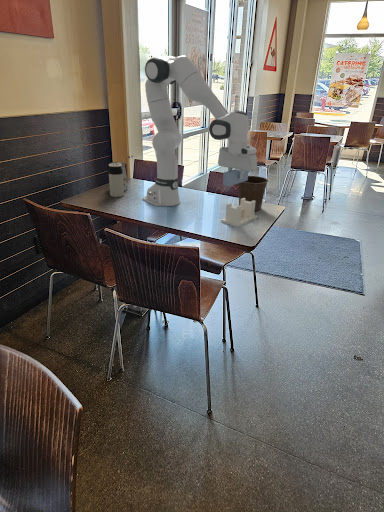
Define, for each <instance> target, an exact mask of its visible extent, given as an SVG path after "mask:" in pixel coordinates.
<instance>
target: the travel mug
mask: <svg viewBox="0 0 384 512" xmlns="http://www.w3.org/2000/svg"><path fill="white" fill-rule="evenodd" d="M121 166H122V164H118V163H113V164H111V163H109V164H108V167H109V168H108V170H107V171H108V180H109V181H108V182H109V195H110V196H111V197H113V198H121V197H123V196H124V195H125V190H124V186H123V170H122V168H121Z"/></svg>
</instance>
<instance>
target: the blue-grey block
mask: <svg viewBox="0 0 384 512" xmlns="http://www.w3.org/2000/svg"><path fill="white" fill-rule="evenodd" d="M240 173H241V172H240V169H234V168H233V169H232V170H231V171H228V170H227V171H224V172H223V173H222V186H225V187H226V186H227V187H232V186H234V185H238V183H241V182H244V181H247V180H248V176H249V171H246V170H245V172H244V174H243V178H242V179H238V175H240Z"/></svg>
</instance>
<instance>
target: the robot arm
mask: <svg viewBox="0 0 384 512" xmlns="http://www.w3.org/2000/svg"><path fill="white" fill-rule="evenodd" d="M144 73H145V76H146V78H147V80H146V81H145V82H144V83H145V84H144V86H145V87H144V88H145V94H146V95H145V97H146V100H147V101H146V103H147V105H148V106H147V107H148V110H149V114H150V115H149V116H150V118H151V121H152V122H153V124H154V125H155V128H156V130H157V133H156V134H155V135H154V136H153V138H152V141H151V142H152V143H151V144H152V148H153V149H154V152H155V158H156V168H157V170H156V173H157V176H156V177H155V178H153V181H154V184H152V185H151V186H149V187H148V189H147V190H146V195H145V196H143V197H142V200H143V201H145V202H147V203H148V204H151V205H153V206H155V207H163V206H164V207H171V206H177V205H178V206H179V204H181V200H180V194H179V193H180V192H179V181H180V180H179V177H178V176H179V174H178V171H179V170H178V169H179V168H178V166H179V164H178V160H177V155H176V149H177V148H178V147H179V146H180V145H181V143H182V135H181V133H180V132H181V131H180V130H179V128H178V125H177V122H176V120H175V116H174V114H173V110H172V104H171V102H170V97H169V91H168V86H169V85H171V86H172V85H173V84H174V83H177V84H178V86H179V87H180V89H181V91H182V92H183V94H184V95H185V96H186V97H187V98H188V99H189V100H191V101H193V102H196V103H199V104H201V105H202V106H204V107H206V108H207V109H208V110H209V112H210V114H211V115H212V117H213V118H214V119H213V120H212V121H210V124H209V127H208V131H209V135H210V136H211V138H212V139H214V140H218V141H222V140H226V139H227V140H228V141H227V142H228V144H227V146H221V147H220V148H219V153H218V159H217V165H218V166H219V167H222V168H223V167H224V168H227V171H231V170H234V169H240V172H241V173H240V175H238V179H242V178H243V174H244V172H245V170H246V171H248V172H254V171H256V169H257V167H258V157H257V155H256V154H257V151H258V150H257V148H256V147H254V146H252V145H250V144H248V143H249V142H248V141H249V140H248V134H249V129H250V127H249V115H248V113H247V112H245V111H242V110H238V109H237V110H236V109H233V110H231V111H230V112H228V110H227V109H226V108H225V107H224V106H223V104H222V102H221V101H220V100H219V98H218V97H217V96H216V94H215V93H214V92H213V90H212V89H211V87H210V86H209V84H208V83H207V81H206V80H205V78H204V77H203V74H202V73H201V71H200V70H199V68H198V66H196V65H195V63H194V62H193V61H192V60H191V59H190V58H189V57H188V56H186V55H180V56H173V55H163V56H158V57H157V56H155V57H154V56H153V57H151V58H150V59H148V60H147V62H146V63H145V66H144Z"/></svg>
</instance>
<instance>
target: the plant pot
mask: <svg viewBox="0 0 384 512" xmlns="http://www.w3.org/2000/svg"><path fill="white" fill-rule="evenodd" d="M268 182H269V180H268V179H267V178H265V177H262V176H257V175H248V180H247V181H244V182H241V183H238V184H237V185H238V206H240V200H241V199H242V198H246V199H245V201H249V202H251V201H254V200H255V201H256V202H255V211H254V212H257V211H261V210H262V206H263V205H262V204H263V200H264V195H265V192H266V191H265V190H266V189H267V184H268Z"/></svg>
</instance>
